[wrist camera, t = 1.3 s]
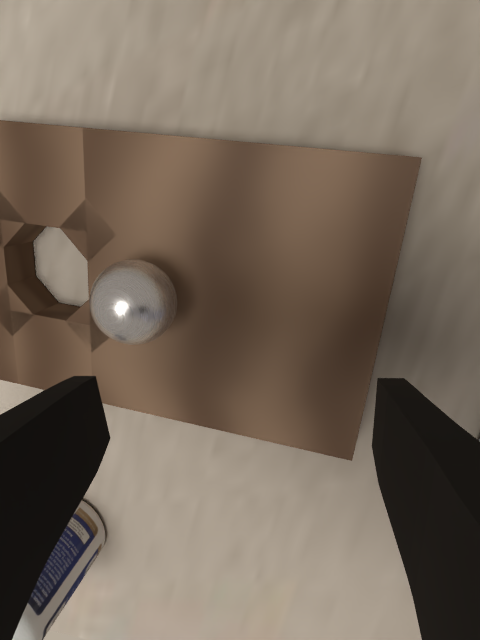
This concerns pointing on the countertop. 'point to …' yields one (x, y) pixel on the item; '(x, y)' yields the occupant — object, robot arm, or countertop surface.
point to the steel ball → (133, 302)
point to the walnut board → (209, 274)
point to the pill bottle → (62, 573)
